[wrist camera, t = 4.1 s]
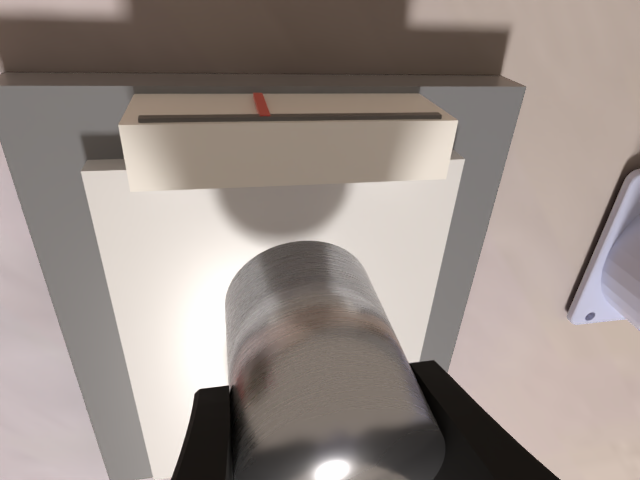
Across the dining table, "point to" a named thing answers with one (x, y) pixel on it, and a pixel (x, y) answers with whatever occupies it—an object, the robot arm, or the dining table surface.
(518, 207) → the dining table surface
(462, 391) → the robot arm
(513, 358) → the dining table surface
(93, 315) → the scale
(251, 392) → the cylinder
